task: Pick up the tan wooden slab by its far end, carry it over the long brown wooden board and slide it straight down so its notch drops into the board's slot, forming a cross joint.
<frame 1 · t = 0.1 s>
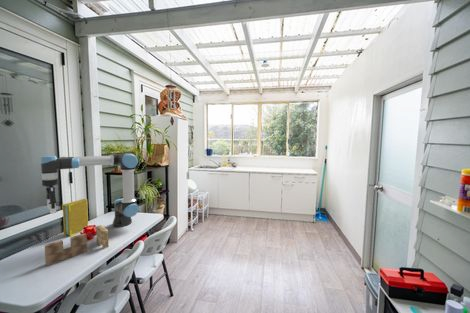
hand: (51, 210, 129), 28 cm above the table, tool pointing down, fingers open, 13 cm apart
tan wooden slab: (103, 245, 140), on the table
brown wooden board: (67, 257, 125), on the table
book: (77, 231, 161), on the table
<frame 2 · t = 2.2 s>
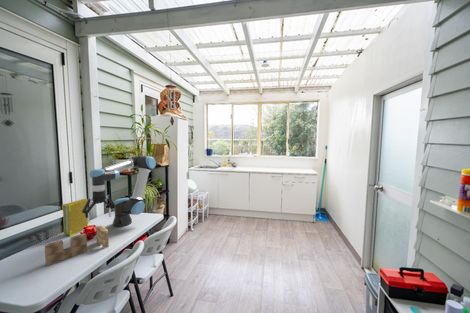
hand: (99, 219, 142), 18 cm above the table, tool pointing down, fingers open, 13 cm apart
nothing on the table moved.
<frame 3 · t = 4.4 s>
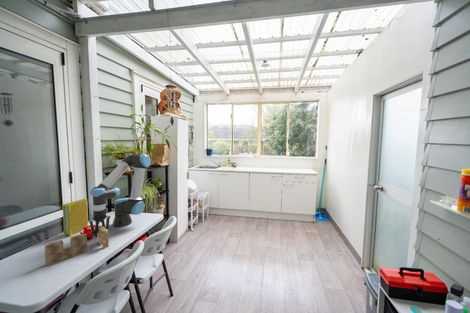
hand: (100, 240, 143), 2 cm above the table, tool pointing down, fingers closed on tan wooden slab, 3 cm apart
tan wooden slab: (103, 245, 140), on the table, touching gripper
everything else where it was.
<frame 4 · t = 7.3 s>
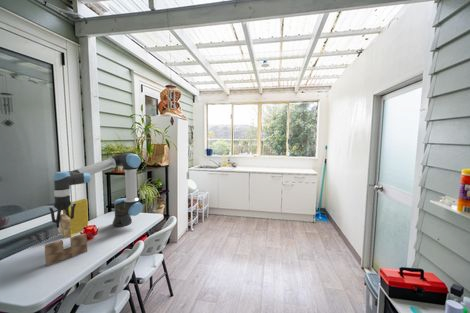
hand: (63, 230, 127), 16 cm above the table, tool pointing down, fingers closed on tan wooden slab, 3 cm apart
tan wooden slab: (66, 235, 123), point 14 cm above the table, touching gripper
everything else where it was.
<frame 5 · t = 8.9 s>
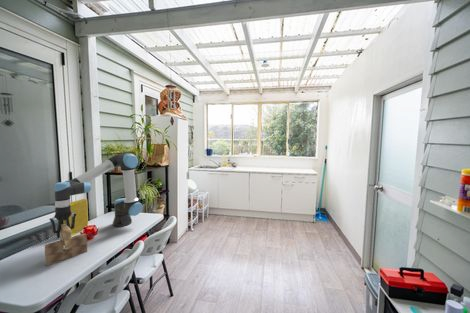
hand: (64, 241, 128), 9 cm above the table, tool pointing down, fingers closed on tan wooden slab, 3 cm apart
tan wooden slab: (66, 246, 124), point 7 cm above the table, touching gripper
everything else where it was.
when the fingers open (3 cm above the table, at t = 10.4 s): tan wooden slab drops 1 cm, on the table.
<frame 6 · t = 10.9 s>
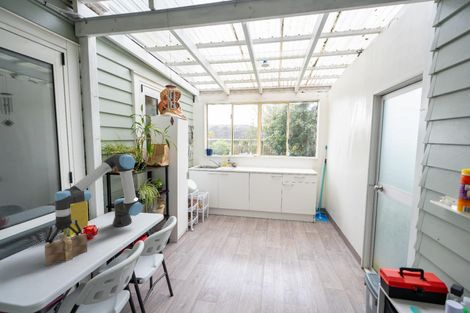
hand: (64, 247, 128), 4 cm above the table, tool pointing down, fingers open, 11 cm apart
tan wooden slab: (67, 257, 125), on the table
everything else where it was.
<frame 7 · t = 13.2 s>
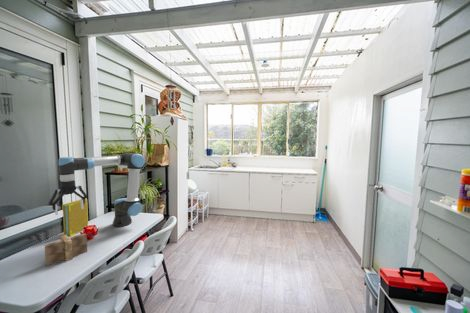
hand: (70, 211, 131), 27 cm above the table, tool pointing down, fingers open, 13 cm apart
nothing on the table moved.
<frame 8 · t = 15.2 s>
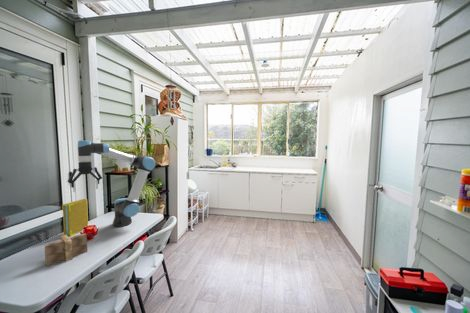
hand: (86, 190, 143), 39 cm above the table, tool pointing down, fingers open, 13 cm apart
nothing on the table moved.
at the end: tan wooden slab 0.0 cm off-centre on the brown wooden board, point 0.0 cm above the brown wooden board's base; tan wooden slab tilted 0°; the gripper is holding nothing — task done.
